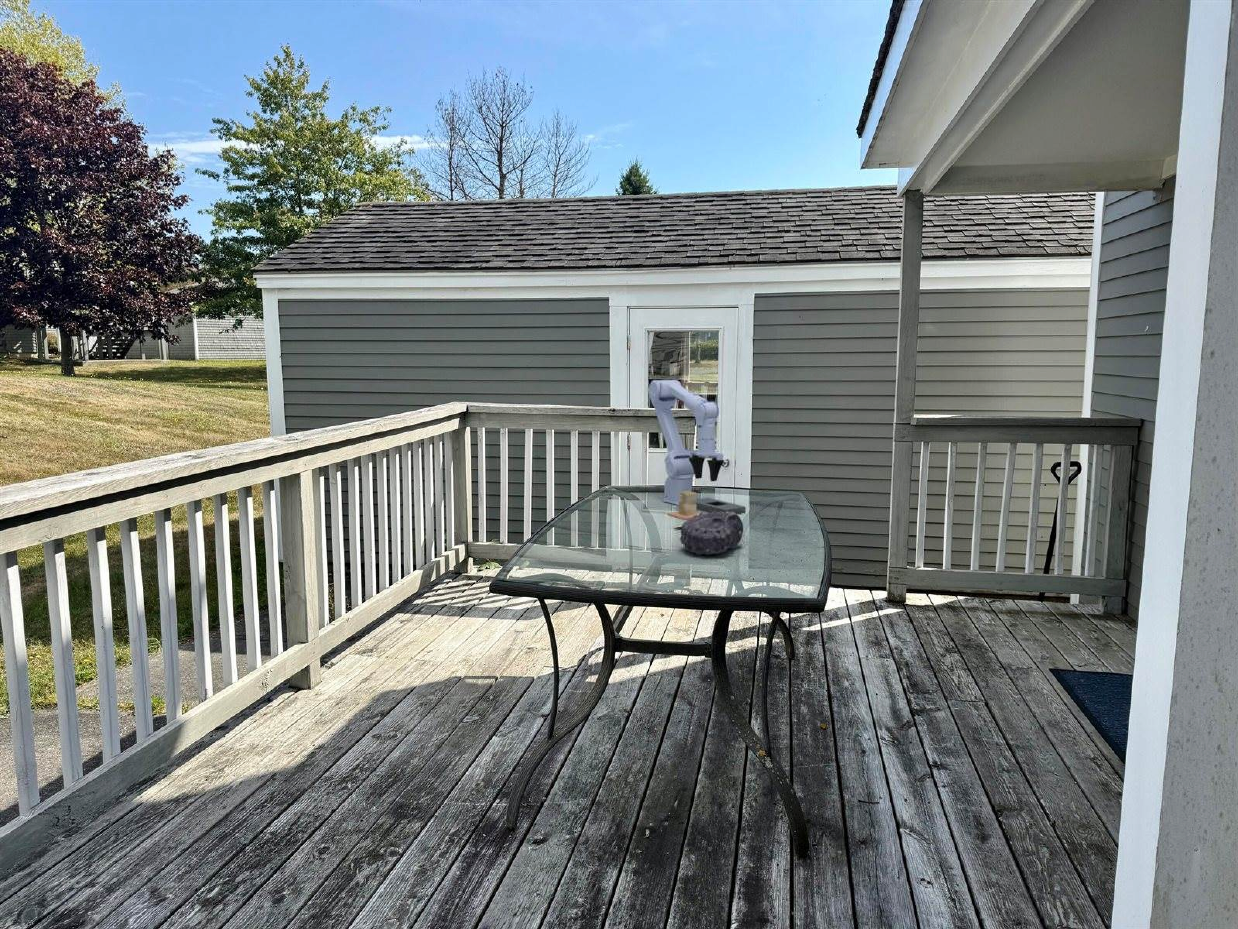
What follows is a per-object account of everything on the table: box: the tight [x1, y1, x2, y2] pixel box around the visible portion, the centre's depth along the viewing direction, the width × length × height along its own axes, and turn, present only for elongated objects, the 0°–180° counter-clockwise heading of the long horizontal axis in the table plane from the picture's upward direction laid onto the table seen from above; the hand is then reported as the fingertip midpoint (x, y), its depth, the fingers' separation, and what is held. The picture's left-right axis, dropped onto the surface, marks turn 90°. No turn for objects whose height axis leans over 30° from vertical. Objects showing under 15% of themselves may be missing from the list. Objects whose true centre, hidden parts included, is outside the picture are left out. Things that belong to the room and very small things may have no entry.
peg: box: [678, 490, 698, 516], centre depth 274 cm, size 4×4×7 cm
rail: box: [696, 497, 747, 515], centre depth 284 cm, size 18×9×2 cm, turn 36°
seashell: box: [678, 511, 744, 556], centre depth 232 cm, size 20×13×15 cm
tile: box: [666, 510, 701, 521], centre depth 275 cm, size 9×9×1 cm
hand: (706, 479), depth 282 cm, fingers open, 7 cm apart
